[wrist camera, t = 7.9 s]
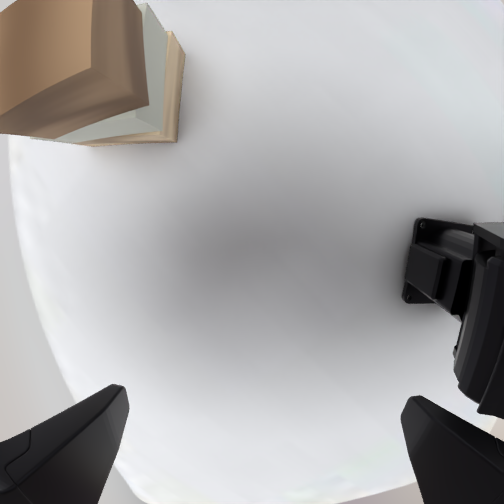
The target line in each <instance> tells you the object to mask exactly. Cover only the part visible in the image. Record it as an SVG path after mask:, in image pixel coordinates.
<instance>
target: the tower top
mask: <svg viewBox="0 0 504 504" xmlns="http://www.w3.org/2000/svg"><path fill="white" fill-rule="evenodd" d="M137 7H138V8H139V9H140V11H141V12H142V23H143V40H144V54H145V66H146V77H147V87H148V96H149V106H145V107H142V108H138V109H135V110H132V111H128V112H125V113H122V114H119V115H116V116H113V117H110V118H107V119H104V120H102V121H99V122H96V123H93V124H91V125H88V126H85V127H83V128H80V129H78V130H75V131H73V132H70V133H68V134H65V135H63V136H61V137H58V138H56V139H47V138H39V137H30V139H36V140H45V141H54V142H62V143H69V144H72V143H78V142H83V141H89V140H95V139H101V138H108V137H114V136H122V135H130V134H138V133H147V132H157V131H163V101H164V81H165V66H166V53H167V42H168V34H167V33H166V31H165V30H164V28H163V27H162V25H161V23H160V22H159V20H158V19H157V17H156V15H155V14H154V12H153V11H152V9H151V8H150V6H149V5H148V3H143V4H139V5H137Z"/></svg>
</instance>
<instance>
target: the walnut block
mask: <svg viewBox="0 0 504 504" xmlns="http://www.w3.org/2000/svg"><path fill="white" fill-rule="evenodd" d="M145 106H149V96H148V87H147V77H146V66H145V54H144V40H143V23H142V12H141V11H140V9H139V8H138V7H137V5H136V4H135V2H134V1H133V0H17V1H15V2H14V3H12V4H11V5H10V6H8V7H7V8H6V9H4V10H3V11H2V12H0V134H11V135H21V136H30V137H39V138H47V139H56V138H58V137H61V136H63V135H65V134H68V133H70V132H73V131H75V130H78V129H80V128H83V127H85V126H88V125H91V124H93V123H96V122H99V121H102V120H104V119H107V118H110V117H113V116H116V115H119V114H122V113H125V112H128V111H132V110H135V109H138V108H142V107H145Z"/></svg>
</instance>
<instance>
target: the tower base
mask: <svg viewBox="0 0 504 504" xmlns="http://www.w3.org/2000/svg"><path fill="white" fill-rule="evenodd" d="M166 33H167V34H168V42H167V53H166V66H165V81H164V101H163V131H157V132H147V133H138V134H130V135H122V136H114V137H108V138H101V139H95V140H89V141H83V142H78V143H72V144H77V145H84V146H91V147H95V146H107V145H121V144H139V143H170V142H177V134H178V121H179V109H180V98H181V88H182V78H183V69H184V61H185V53H184V51H183V49H182V48H181V46H180V44H179V42H178V41H177V39H176V37H175V35H174V34H173V32H172V31H166Z"/></svg>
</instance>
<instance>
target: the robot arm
mask: <svg viewBox="0 0 504 504" xmlns="http://www.w3.org/2000/svg"><path fill="white" fill-rule="evenodd" d="M422 222H423V227H420V224H421V223H422ZM472 231H473V234H472ZM405 279H406V281H405V285H404V290H403V295H402V299H403V300H404V301H405V302H406V303H408V304H423V303H437V304H438V305H439V306H441V307H442V308H443V309H444V310H446V311H447V312H448V313H450V314H451V315H452V316H453V317H455V318H456V319H457V320H458V321H460V322H461V323H462V324H461V328H460V332H459V336H458V341H457V344H456V346H455V347H454V351H453V355H454V358H455V360H454V373H455V375H456V377H457V380H458V381H459V384H458V388H459V389H460V391H461V392H462V393H463V394H464V395H465V396H466V397H468V398H469V399H471V400H472V401H474V402H475V403H478V404H479V407H478V409H477V412H478V413H479V414H485V415H492V416H496V417H499V418H502V419H504V222H493V223H474V224H473V225H467V224H461V223H455V222H448V221H442V220H435V219H428V218H418V219H417V220H416V222H415V228H414V235H413V242H412V245H411V247H410V253H409V258H408V264H407V269H406V275H405ZM408 295H410V297H409V298H408V299H407V297H408ZM128 413H129V402H128V397H127V392H126V389H125V387H124V386H121V385H116V384H111V385H109V386H107V387H106V388H104V389H102V390H100V391H99V392H97V393H95V394H93V395H92V396H90V397H88V398H86V399H84V400H83V401H81V402H79V403H77V404H75V405H74V406H72V407H70V408H68V409H66V410H65V411H63V412H61V413H59V414H57V415H55V416H53V417H52V418H50V419H48V420H46V421H44V422H42V423H40V424H38V425H36V426H34V427H33V428H31V430H30V429H29V430H26V431H25V432H23V433H21V434H18V435H16V436H14V437H12V438H10V439H8V440H5V441H3V442H0V504H98V501H99V499H100V496H101V493H102V490H103V488H104V485H105V483H106V480H107V478H108V475H109V473H110V470H111V468H112V465H113V463H114V460H115V458H116V455H117V453H118V450H119V446H120V443H121V439H122V435H123V431H124V428H125V424H126V420H127V417H128ZM401 424H402V428H403V432H404V437H405V441H406V446H407V450H408V454H409V458H410V461H411V464H412V467H413V470H414V473H415V476H416V479H417V482H418V485H419V488H420V492H421V495H422V498H423V502H424V504H504V441H502V440H500V439H498V438H495V437H494V436H492V435H491V434H489V433H487V432H485V431H483V430H481V429H480V428H478V427H476V426H474V425H472V424H470V423H469V422H467V421H465V420H463V419H461V418H460V417H458V416H456V415H454V414H453V413H451V412H449V411H447V410H445V409H444V408H442V407H440V406H438V405H437V404H435V403H433V402H432V401H430V400H428V399H426V398H425V397H423V396H421V395H418V396H412V397H410V398H409V399H408V401H407V403H406V405H405V407H404V409H403V412H402V414H401Z"/></svg>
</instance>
